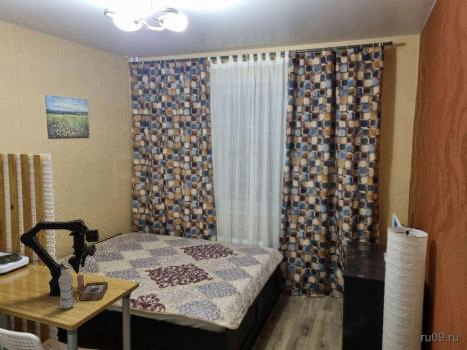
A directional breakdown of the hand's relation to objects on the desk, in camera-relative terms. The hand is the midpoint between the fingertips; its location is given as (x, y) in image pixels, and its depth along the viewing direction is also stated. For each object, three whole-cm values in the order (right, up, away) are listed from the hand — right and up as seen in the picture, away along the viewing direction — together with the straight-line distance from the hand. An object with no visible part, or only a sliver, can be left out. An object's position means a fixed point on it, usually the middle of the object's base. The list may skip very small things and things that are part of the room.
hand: (80, 270), depth 186 cm
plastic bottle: (+1, -14, -17) cm, 22 cm away
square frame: (+9, -12, -3) cm, 15 cm away
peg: (0, -12, +1) cm, 12 cm away
